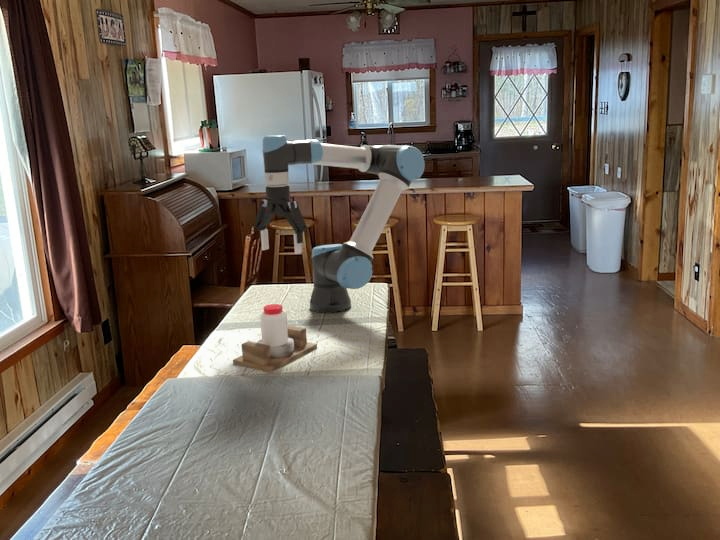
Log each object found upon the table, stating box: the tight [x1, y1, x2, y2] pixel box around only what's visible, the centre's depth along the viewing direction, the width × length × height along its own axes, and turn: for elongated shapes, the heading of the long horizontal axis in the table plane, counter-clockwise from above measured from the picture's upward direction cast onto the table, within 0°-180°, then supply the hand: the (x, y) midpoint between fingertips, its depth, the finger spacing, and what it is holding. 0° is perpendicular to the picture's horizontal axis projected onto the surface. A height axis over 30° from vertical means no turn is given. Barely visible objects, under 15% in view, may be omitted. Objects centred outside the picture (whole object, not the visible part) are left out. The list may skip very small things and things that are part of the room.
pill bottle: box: [259, 303, 288, 347], centre depth 200 cm, size 8×8×11 cm
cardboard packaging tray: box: [232, 324, 318, 373], centre depth 202 cm, size 22×14×6 cm, turn 147°
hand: (281, 251), depth 219 cm, fingers open, 13 cm apart
